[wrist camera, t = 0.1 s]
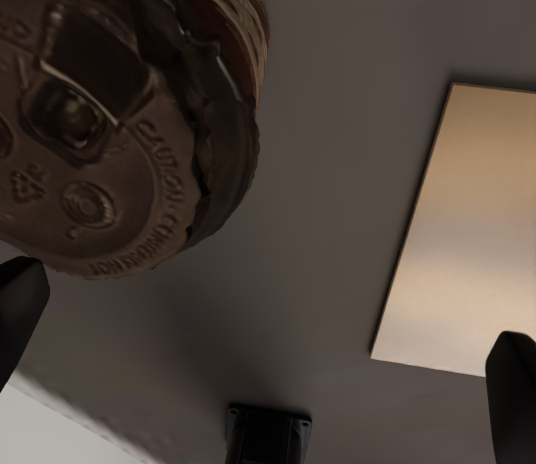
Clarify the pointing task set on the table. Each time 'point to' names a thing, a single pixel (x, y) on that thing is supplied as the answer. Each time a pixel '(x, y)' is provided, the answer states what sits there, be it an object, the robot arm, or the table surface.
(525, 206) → the wooden board
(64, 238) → the coffee cup
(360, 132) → the table surface
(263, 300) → the table surface
